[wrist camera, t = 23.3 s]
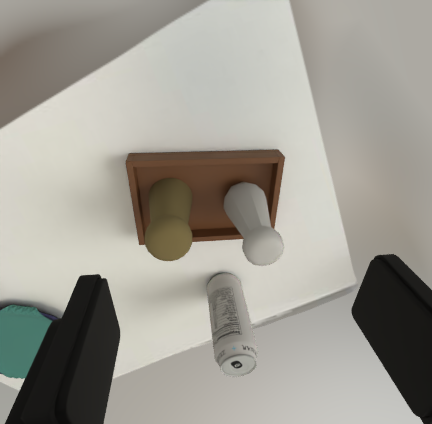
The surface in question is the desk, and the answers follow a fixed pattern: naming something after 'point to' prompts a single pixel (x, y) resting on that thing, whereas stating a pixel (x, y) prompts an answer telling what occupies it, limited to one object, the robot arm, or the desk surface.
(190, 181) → the tray
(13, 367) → the cutlery set
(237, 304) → the energy drink can
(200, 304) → the desk surface
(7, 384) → the desk surface
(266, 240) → the salt shaker
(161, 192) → the pepper shaker
